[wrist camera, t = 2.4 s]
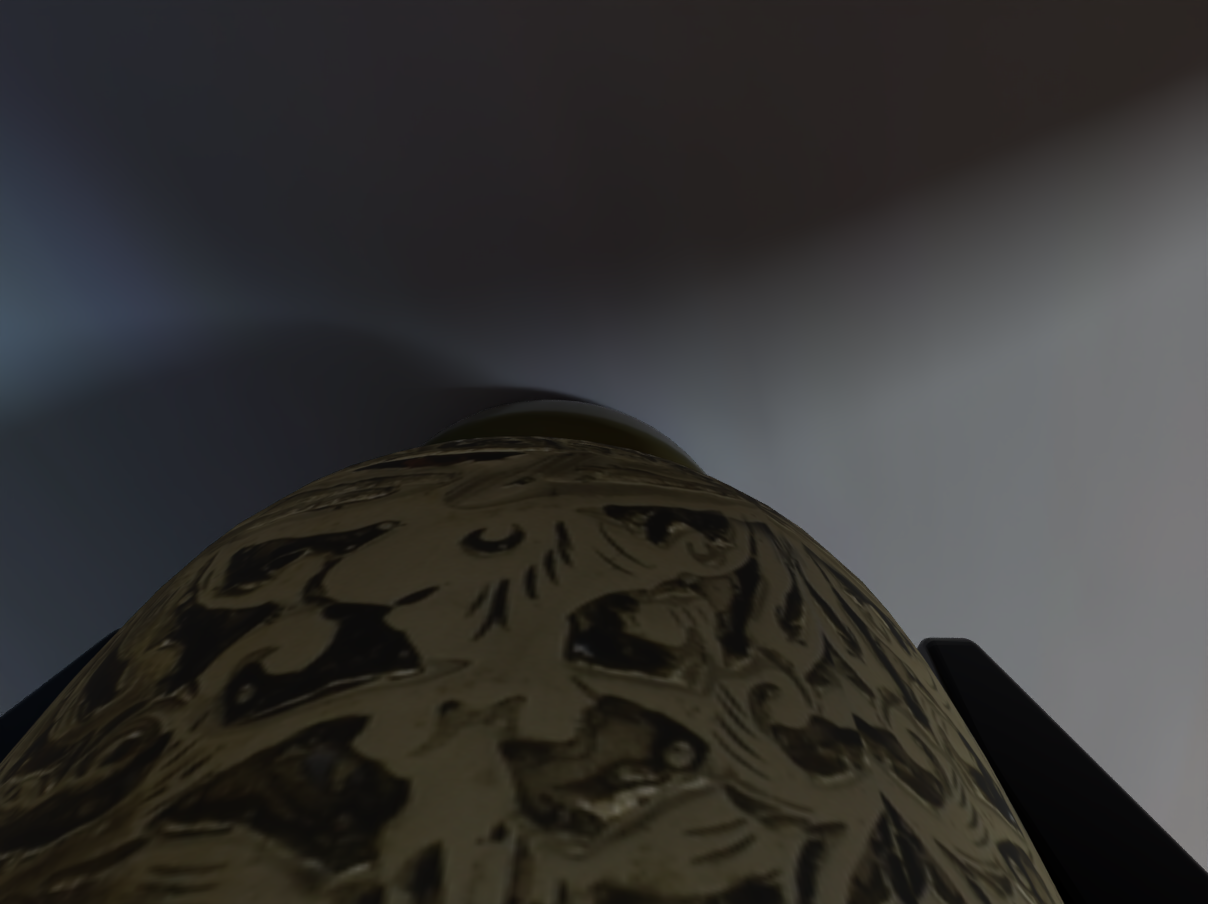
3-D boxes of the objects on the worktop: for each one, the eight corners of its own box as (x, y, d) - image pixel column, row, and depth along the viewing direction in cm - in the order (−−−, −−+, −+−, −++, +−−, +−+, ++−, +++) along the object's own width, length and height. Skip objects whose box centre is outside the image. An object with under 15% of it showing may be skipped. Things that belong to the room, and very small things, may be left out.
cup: (677, 802, 13) (721, 1839, 6) (133, 611, 11) (-582, 1816, 5) (1081, 401, 9) (2230, 2029, 3) (343, -4, 7) (-2699, 2424, 1)
